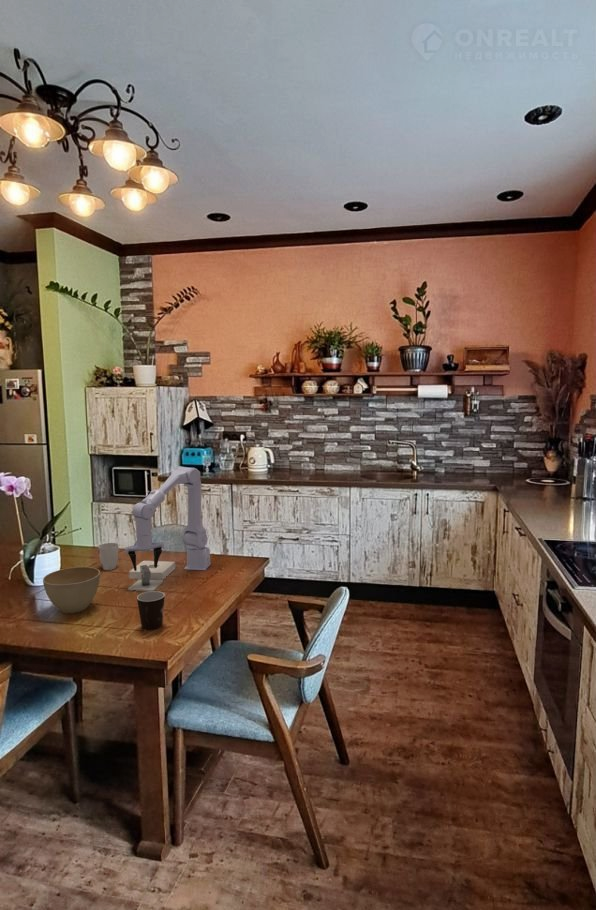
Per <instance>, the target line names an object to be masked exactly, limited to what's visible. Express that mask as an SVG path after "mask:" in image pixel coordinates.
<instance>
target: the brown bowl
mask: <svg viewBox="0 0 596 910" xmlns="http://www.w3.org/2000/svg"><path fill="white" fill-rule="evenodd" d="M100 577H101V571H100V570H99V569H97V568H95V567H92V566H91V567H90V566H75V567H68V568H62V569H58V570H55V571H51V572H50V573H47V574H46V575H45V576H44V577H43V578H42V583H43V588H44V590H45V593H46V596H47V597H48V599H49V601H50V602H51V604H52V605H53V606H55V608H57V610H58V611H59V612H62V613H64V614H68V613H70V614H76V612H77V613H80V612H82V611H84V610H86V609H87V608H88V607H89V605H90V604H91V603H92V601H93V599H94V598H95V596H96V594H97V591H98V588H99V584H100V579H101V578H100Z"/></svg>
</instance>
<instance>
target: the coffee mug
mask: <svg viewBox="0 0 596 910" xmlns="http://www.w3.org/2000/svg"><path fill="white" fill-rule="evenodd" d="M165 595H166V594H165V593H164V592H163V591H157V590H154V591H144V592H142V593H140V594H138V595H137V597H136V601H137V608H138V613H139V618H140V619H139V620H140V625H141V629H142V630H144V631H156V630H159V629H161V628H162V627H161V626H163V619H164V608H165V597H166V596H165ZM158 628H159V629H158ZM155 629H156V630H155Z"/></svg>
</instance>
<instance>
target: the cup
mask: <svg viewBox="0 0 596 910" xmlns="http://www.w3.org/2000/svg"><path fill="white" fill-rule="evenodd" d="M97 547H98V549H97V550H98V556H99V560H100V565H101V568H102V570H103V571H112V569H113V570H115V569H116V568H117V564H118V558H119V543H117V542H106V543H101V544H99V545H98V546H97Z"/></svg>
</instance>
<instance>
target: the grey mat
mask: <svg viewBox="0 0 596 910" xmlns="http://www.w3.org/2000/svg"><path fill="white" fill-rule="evenodd" d="M163 583H164V580H150V585H148V586H142V579H137V581H136V582H134V583H133V584H132V585H130V587H128V588H127V590H128V591H133V590H136V591H138V592H150V591H156V590H157V589H158V588H159V587H160V586H161V585H162V584H163ZM157 587H158V588H157Z"/></svg>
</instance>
